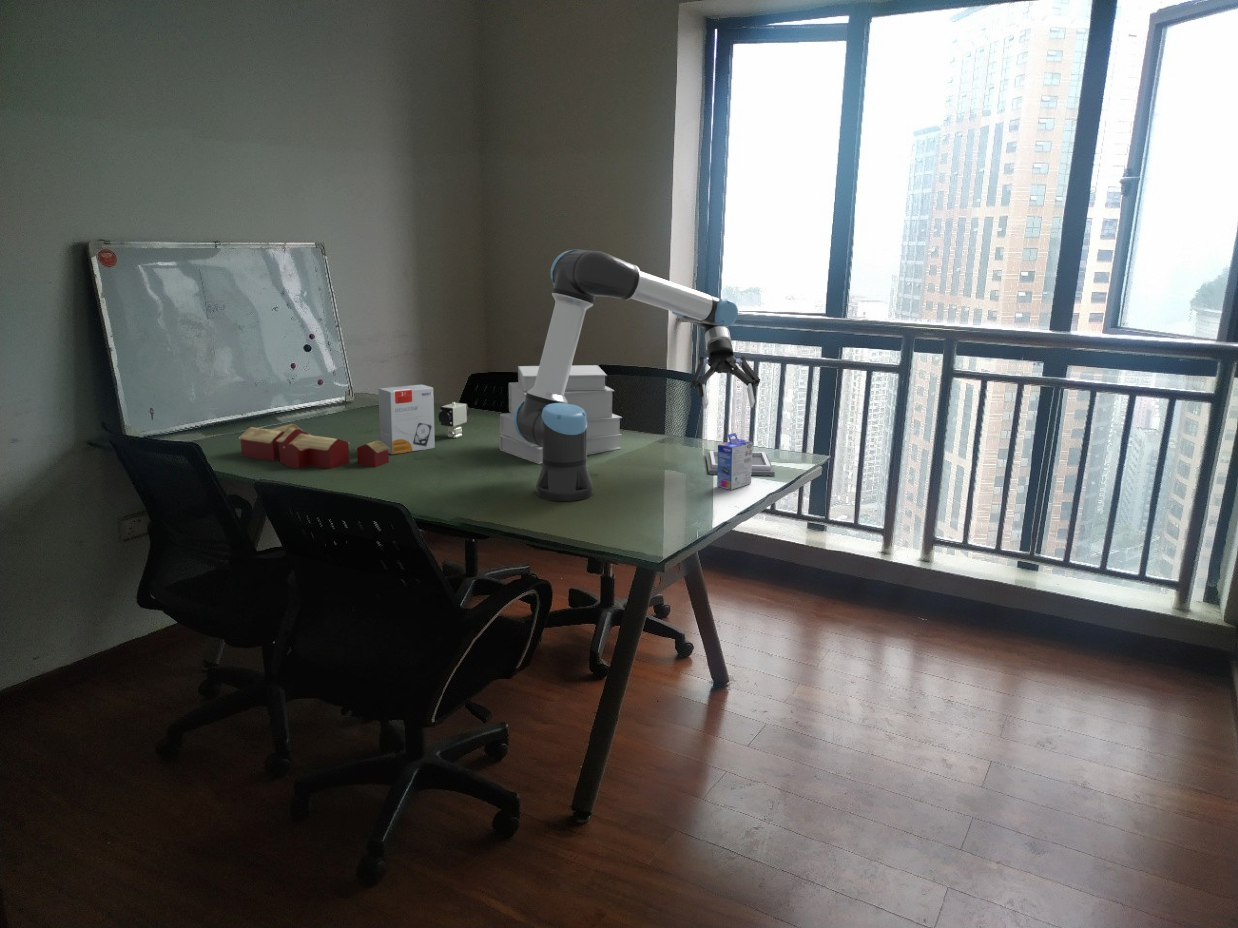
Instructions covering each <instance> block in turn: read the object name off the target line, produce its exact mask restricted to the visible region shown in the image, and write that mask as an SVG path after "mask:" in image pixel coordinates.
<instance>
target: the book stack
mask: <svg viewBox="0 0 1238 928" xmlns="http://www.w3.org/2000/svg"><path fill="white" fill-rule="evenodd" d="M538 369H539V365H523V366H521V365H520V366H519V365H517V370H518V371H517V377H518V378H517V380H518V382H517V381H515V382H508V411H509V412H507V413H500V415H499V422H500V423H499V426H500V427H499V428H500V435H499V437H498V438H499V442H498V443H499V450H500V451H501V452H503V453H504V452H505V453H508V454H509V455H512V456H515V457H517V458H521V459H522V460H526V461H529V462H532V463H535V464H537V465H541V464H542V465H543V448H542V447H540V446H538V445H536V444H533V443H530V442H528V441H526V440H525V439H524V438H522V437H521V436H520V435H519V434H518V432H517V431H516V429H515V426H514V413H515V410H516V408H517V407H518V405H519V404H521V403H522V402H523V401H525V397H526V394H527V391H529V390H530V389H532V388H533V387H534V385H535V381H536V377H537V373H538ZM606 377H608V374H606V373H605V371H604V370H603V369H601V367H600V366H599V365H598V364H597V365H596V364H595V365H589V364H588V365H587V364H585V365H583V364H581V365H579V364H578V365H572V366H571V370H570V374H569V378H568V382H567V385H566V389H565V393H564V396H565V398H566V400H567V401H568V404H570V405H571V404H573V405H576V406H579V407H581V408H582V409H583V410H584V411H585V413H586V418H587V454H586V456H590V455H594V454H600V453H606V452H611V451H615V450H621V449H622V447H620V445H619V444H620V443H619V442H620V436H622V435H623V434H622V433H620V432H621V430H620V428H621V427H620V425H621V423H620V421H621V419H623V417H622V416H620V415H617V414H615V413H613V392H615V390H614V389H612V388H611V387H609V386H606Z"/></svg>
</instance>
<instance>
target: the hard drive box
mask: <svg viewBox="0 0 1238 928" xmlns="http://www.w3.org/2000/svg"><path fill="white" fill-rule="evenodd" d="M377 391H378V413H379V414H378V415H379V434H380V442H382V443H383V444H385V445H386V446H387V447H389V448H390V449H389V448H388V455H397V454H406V453H411V452H416V451H418V452H419V451H426V450H430V449H435V447H436V446H435V444H436V443H435V405H434V404H435V403H434V402H435V400H434V397H435V396H434V387H432V386H429V385H425V384H413V385H402V386H391V387H382V388H378V390H377Z"/></svg>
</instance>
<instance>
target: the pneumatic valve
mask: <svg viewBox="0 0 1238 928" xmlns="http://www.w3.org/2000/svg"><path fill="white" fill-rule="evenodd" d="M439 411H440V412H438V422H440V426H446V427H447V430H448V431H447V437H448V438H454V439H457V438H460V437H462V436H463V434H462V432H463V430H462V429H463V427H462V426H461V425H462V424H465V423H468V422H469V418H468V417H469V416H470V409H469V407H468V403H463V402H456V401H452V402H451V403H449V404H445V405H443V406H440V408H439Z"/></svg>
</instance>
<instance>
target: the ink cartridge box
mask: <svg viewBox="0 0 1238 928" xmlns="http://www.w3.org/2000/svg"><path fill="white" fill-rule="evenodd" d="M732 437H735V438H732ZM727 438H728V441H726V442H724V443H723V442H722V443H720V444H718V445H717V451H718V468H717V474H716V475H717V479H716V483H717V484H716V486H717V487H718V488H722V489H726V490H729V491H731V490H735V489H738V488H741V487H745V486H747V485H750V484H751V483H752V476H751V474H752V452H753V441H751V440H745V439H741V438H738V435H737V433H736V432H734V433H730V434H727ZM731 438H732V439H731Z"/></svg>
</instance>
